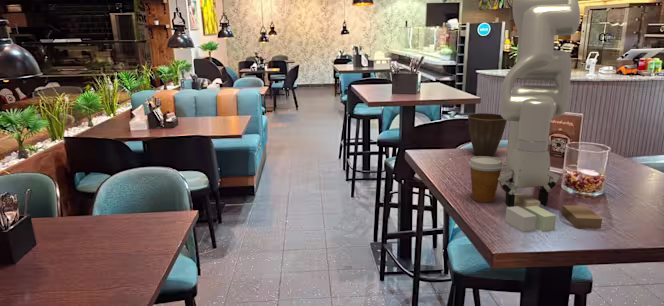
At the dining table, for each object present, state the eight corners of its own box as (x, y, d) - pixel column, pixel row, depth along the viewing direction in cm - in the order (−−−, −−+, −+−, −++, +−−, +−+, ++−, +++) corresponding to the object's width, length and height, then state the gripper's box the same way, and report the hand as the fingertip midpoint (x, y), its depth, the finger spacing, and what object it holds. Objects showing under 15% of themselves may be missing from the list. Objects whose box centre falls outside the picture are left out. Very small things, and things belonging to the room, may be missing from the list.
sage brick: (523, 221, 117) (525, 206, 116) (535, 219, 118) (536, 205, 117) (542, 231, 110) (544, 216, 109) (554, 230, 111) (556, 215, 110)
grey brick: (505, 221, 117) (506, 207, 116) (516, 220, 118) (517, 206, 117) (522, 232, 110) (524, 217, 109) (534, 230, 111) (536, 215, 110)
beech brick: (512, 207, 127) (513, 194, 126) (523, 206, 127) (525, 193, 126) (527, 216, 120) (528, 202, 119) (538, 215, 121) (540, 201, 120)
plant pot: (509, 154, 183) (513, 115, 179) (495, 161, 172) (498, 121, 168) (474, 148, 192) (477, 112, 188) (459, 155, 182) (461, 116, 178)
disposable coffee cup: (499, 195, 136) (503, 157, 133) (500, 205, 127) (503, 165, 124) (467, 191, 139) (469, 154, 136) (465, 202, 130) (468, 163, 127)
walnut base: (561, 215, 121) (562, 205, 120) (584, 216, 120) (585, 205, 120) (575, 229, 112) (577, 218, 112) (600, 229, 112) (602, 218, 111)
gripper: (553, 141, 124) (546, 199, 128) (494, 143, 121) (489, 202, 126) (571, 147, 116) (563, 208, 121) (509, 150, 114) (503, 212, 118)
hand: (525, 205), depth 123 cm, fingers open, 9 cm apart
